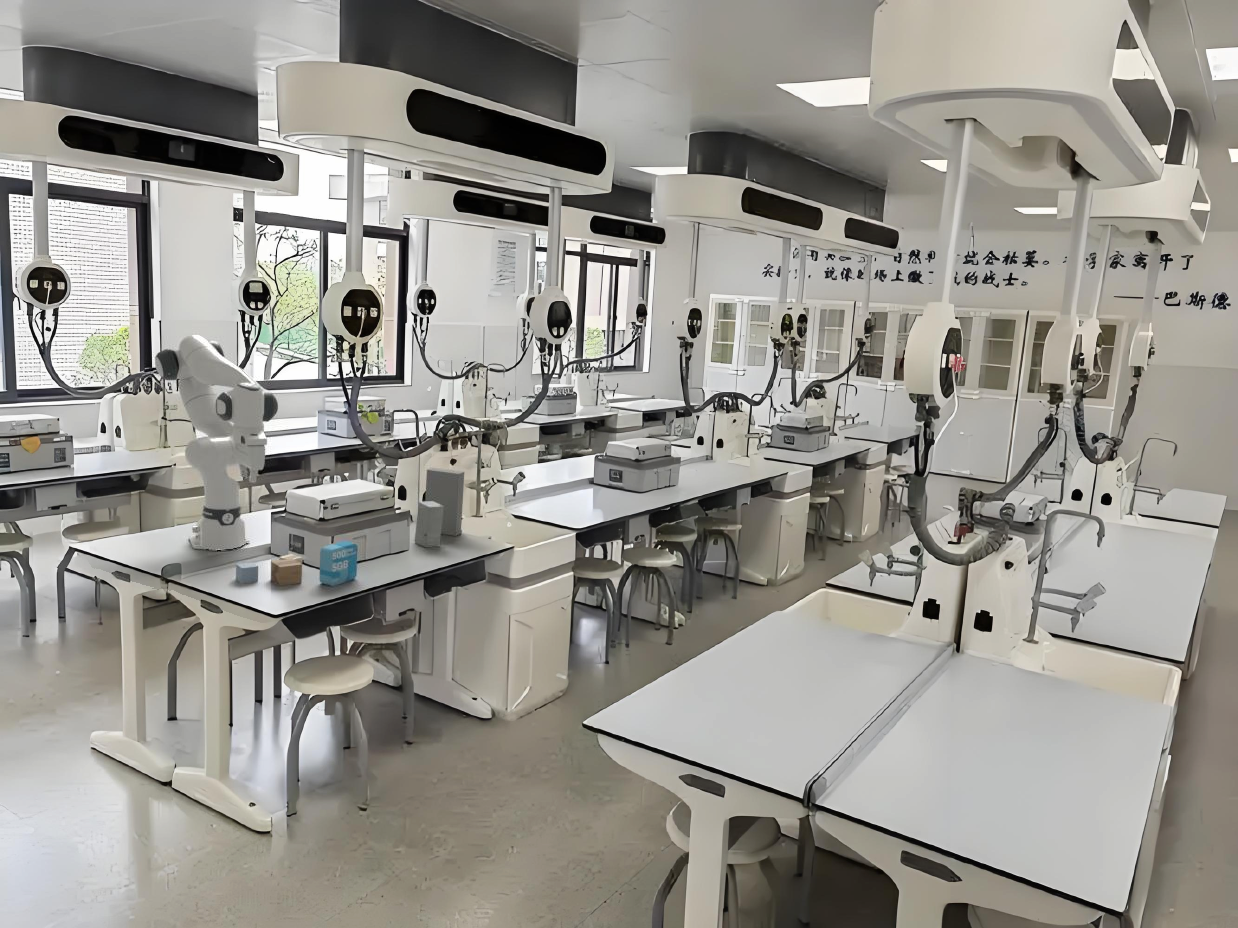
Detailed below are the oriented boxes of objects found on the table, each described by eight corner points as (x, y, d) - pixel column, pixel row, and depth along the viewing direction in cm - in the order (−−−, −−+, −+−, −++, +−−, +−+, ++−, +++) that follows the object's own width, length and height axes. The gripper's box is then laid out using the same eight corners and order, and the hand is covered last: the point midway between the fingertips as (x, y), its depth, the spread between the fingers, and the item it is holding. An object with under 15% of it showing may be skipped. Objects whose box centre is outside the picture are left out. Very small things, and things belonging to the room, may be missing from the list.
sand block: (278, 571, 297) (279, 556, 296) (291, 568, 301) (291, 554, 301) (289, 575, 295) (290, 560, 294) (301, 571, 299) (302, 557, 298)
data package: (329, 587, 286) (330, 550, 284) (318, 584, 288) (319, 547, 286) (356, 578, 297) (358, 542, 295) (346, 575, 299) (347, 540, 297)
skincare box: (414, 542, 345) (416, 501, 342) (430, 540, 349) (432, 500, 347) (425, 548, 339) (427, 506, 336) (442, 546, 343) (444, 504, 341)
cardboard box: (270, 579, 288) (271, 561, 287) (292, 576, 293) (293, 558, 292) (279, 585, 283) (279, 567, 282) (301, 582, 288) (302, 564, 287)
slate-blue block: (235, 579, 286) (236, 564, 285) (252, 577, 290) (252, 562, 289) (241, 583, 283) (241, 568, 282) (258, 581, 286) (258, 566, 285)
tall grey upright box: (462, 533, 364) (465, 471, 360) (456, 536, 358) (459, 473, 354) (429, 528, 367) (432, 467, 363) (423, 531, 361) (426, 469, 357)
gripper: (228, 431, 290) (228, 474, 292) (247, 440, 274) (247, 486, 276) (249, 430, 294) (249, 473, 296) (268, 440, 278) (268, 485, 280)
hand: (248, 479), depth 286 cm, fingers open, 8 cm apart
